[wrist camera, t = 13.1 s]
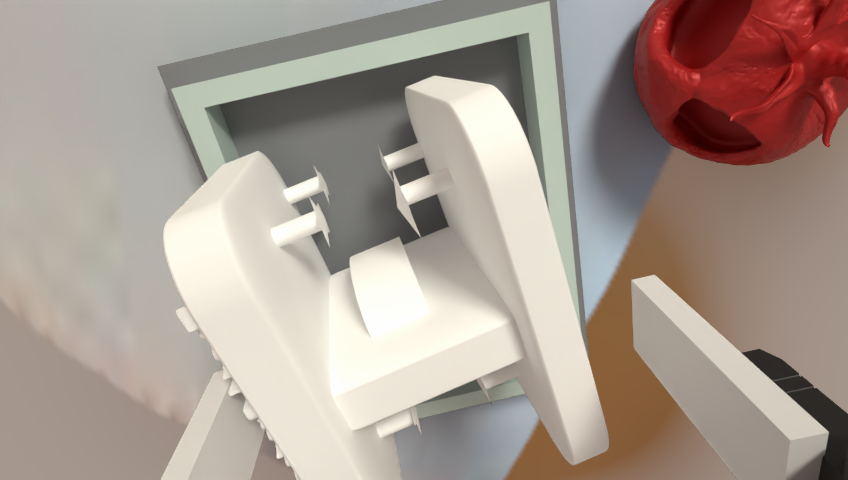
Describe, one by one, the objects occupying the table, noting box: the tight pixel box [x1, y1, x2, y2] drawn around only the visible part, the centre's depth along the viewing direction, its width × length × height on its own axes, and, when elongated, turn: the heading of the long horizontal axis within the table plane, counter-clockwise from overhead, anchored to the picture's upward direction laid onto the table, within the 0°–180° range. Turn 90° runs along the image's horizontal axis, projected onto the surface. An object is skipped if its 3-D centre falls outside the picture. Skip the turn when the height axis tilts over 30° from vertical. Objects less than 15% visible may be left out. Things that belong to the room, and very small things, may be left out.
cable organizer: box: [163, 76, 609, 480], centre depth 20 cm, size 15×11×12 cm
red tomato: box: [634, 0, 848, 165], centre depth 20 cm, size 10×10×9 cm
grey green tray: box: [158, 0, 589, 419], centre depth 25 cm, size 18×22×4 cm
